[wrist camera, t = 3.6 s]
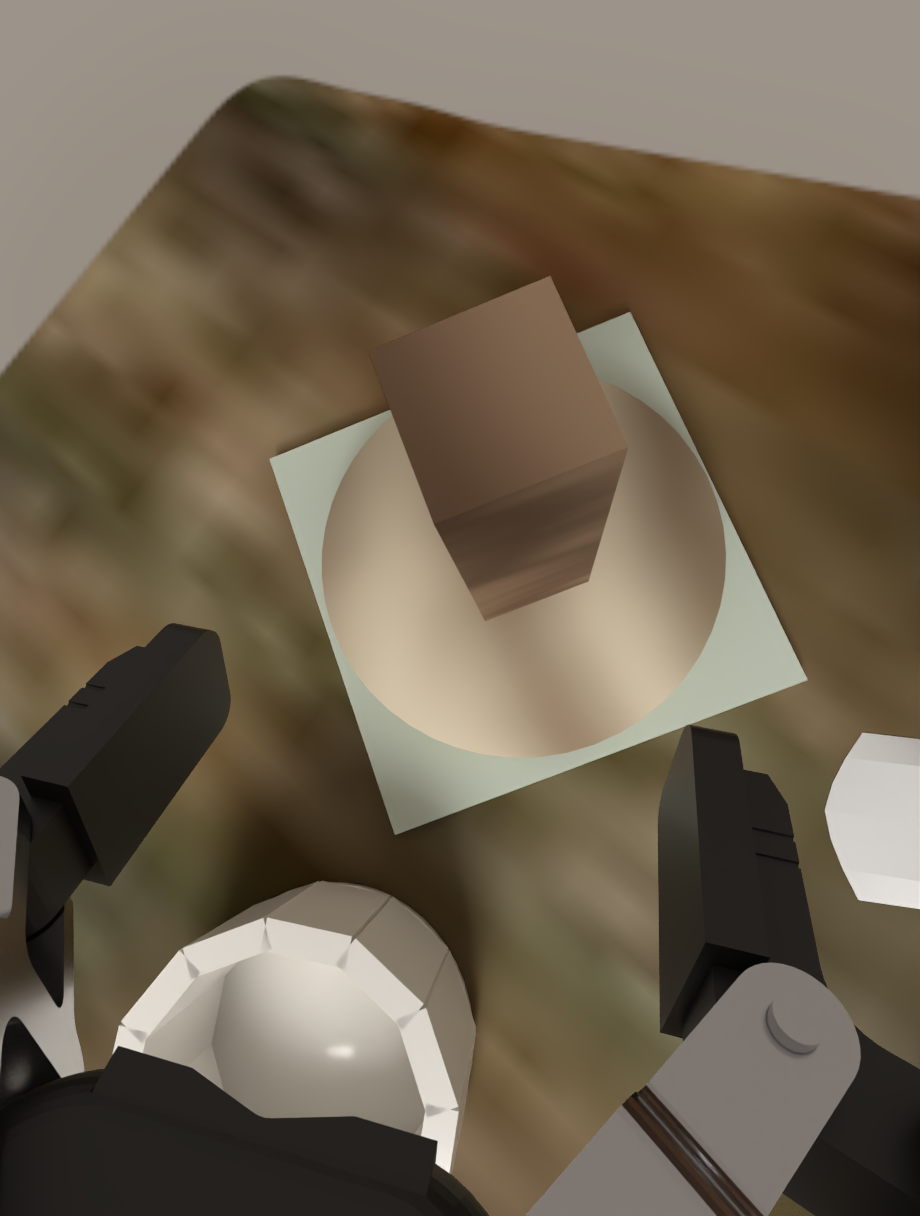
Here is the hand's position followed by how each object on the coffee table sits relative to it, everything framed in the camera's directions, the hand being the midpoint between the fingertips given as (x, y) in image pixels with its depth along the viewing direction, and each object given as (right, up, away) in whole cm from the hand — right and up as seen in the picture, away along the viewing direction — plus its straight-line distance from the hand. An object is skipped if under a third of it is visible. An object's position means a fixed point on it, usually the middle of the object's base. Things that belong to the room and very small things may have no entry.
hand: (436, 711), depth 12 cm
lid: (+2, +3, +12) cm, 12 cm away
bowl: (-4, -12, +10) cm, 16 cm away
